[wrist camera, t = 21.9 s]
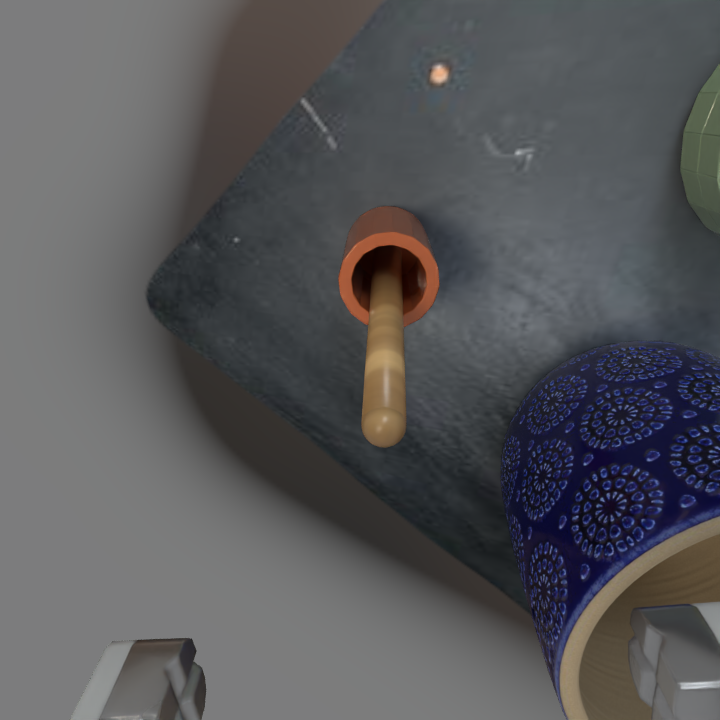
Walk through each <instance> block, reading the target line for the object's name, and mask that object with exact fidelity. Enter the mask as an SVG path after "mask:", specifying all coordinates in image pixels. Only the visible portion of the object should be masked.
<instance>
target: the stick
mask: <svg viewBox="0 0 720 720" xmlns="http://www.w3.org/2000/svg"><path fill="white" fill-rule="evenodd" d="M362 431H363V434H364V436H365V438H366V439H367V440H368V441H369V442H370V443H371V444H373V445H375V446H378V447H390V446H393V445H395V444H396V443H398V442H399V441H400V440H401V439H402V437H403V436H404V434H405V431H406V395H405V359H404V324H403V288H402V252H401V248H400V247H398V246H394V245H388V246H379V247H376V248H374V251H373V264H372V279H371V293H370V308H369V322H368V337H367V351H366V366H365V380H364V395H363V410H362Z"/></svg>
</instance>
